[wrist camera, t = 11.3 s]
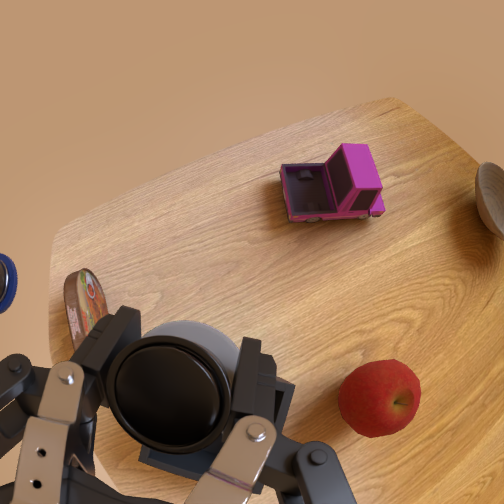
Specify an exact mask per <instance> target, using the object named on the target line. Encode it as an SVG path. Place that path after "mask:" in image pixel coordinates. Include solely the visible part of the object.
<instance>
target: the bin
mask: <svg viewBox="0 0 504 504" xmlns="http://www.w3.org/2000/svg"><path fill="white" fill-rule="evenodd" d="M275 387H276V389H275V407H274V423H275V426H276V428H277V429H278V431H279V432H280V433H282V429H283V426H284V423H285V420H286V416H287V413H288V410H289V406H290V403H291V400H292V396H293V393H294V389H295V385H294V384H292V383H290V382H288V381H286V380H284V379H282V378H280V377H276V386H275ZM222 436H223V433H221V435H220V436H219V437H218V438H217V439H216V440H215V441H214V442H213V443H212V444H211V445H209V446H208V447H206V448H205V449H203V450H200V451H198V452H195V453H192V454H187V455H170V454H164V453H160V452H157V451H154V450H152V449H150V448H147V447H145V446H144V445H142V447H141V451H140V455H139V460H138V461H140V462H142V463H145V464H147V465H150V466H153V467H155V468H158V469H161V470H164V471H167V472H170V473H173V474H176V475H179V476H183V477H186V478H189V479H193V480H196V481H199V480H200V478H201V476H202V475H203V474H204V472H205V471H206V470H207V469H209V467H210V466H211V464H212V463H213V461H214V460H215V458H216V456H217V455H218V453H219V451H220V450H221V448H222V446H223V445H224V443H225V442H221V441H222ZM263 486H264V484H262V483H259V482H257V481H256V483H255V485H254V488H253V492H252V493H253V494H259V495H260V494H261V491H262V489H263Z"/></svg>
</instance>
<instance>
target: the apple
mask: <svg viewBox="0 0 504 504" xmlns="http://www.w3.org/2000/svg"><path fill="white" fill-rule="evenodd" d="M420 397H421V388H420V381H419V379H418V378H417V376H416V375H415V374H414V372H413V371H412V370H411V369H410V368H409V367H408V366H407V365H405V364H403V363H401V362H399V361H397V360H395V359H391V360H381V361H375V362H369V363H367V364H365V365H363V366H360V367H358V368H357V369H355V370H354V371H353V372H352V373H351V374H350V375H349V376H347V377H346V379H345V380H344V382H343V384H342V385H341V387H340V389H339V396H338V403H339V408H340V411H341V415H342V418H343V419H344V420H345V421H346V422H347V423H348V424H349V425H350V426H351V427H352V428H353V429H354V430H355V431H356V432H357V433H358V434H361V435H363V436H366V437H369V438H374V437H380V436H385V435H391V434H394V433H396V432H398V431H400V430H401V429H403V428H405V427H406V426H407V425H408V424H409V423H410V422H411V421H412V419H413V418H414V416H415V414H416V412H417V409H418V407H419V403H420Z"/></svg>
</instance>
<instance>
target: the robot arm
mask: <svg viewBox="0 0 504 504" xmlns="http://www.w3.org/2000/svg"><path fill="white" fill-rule="evenodd" d="M8 288H9V271H8V268H7V266H6V264H5V263H4V262H3V261H2V260H0V304H1V303H2V301H3V300H4V298H5V296H6V294H7V292H8ZM139 339H141V314H140V310H137V309H134V308H130V307H127V306H124V305H123V306H121V307H120V308H119V310H118V311H117V312H116V314H115V315H111V314H107V315H105V316H104V317H102V318H101V319H99V320H98V321H97V323H96V324H95V325H94V327H93V329H92V330H91V331H90V332H89V333H88V336H86V337H85V339H84V340H83V342H82V343H81V344H80V346H79V347H78V349H77V350H76V351H75V353H74V354H73V356H72V357H71V358H70V360H69V361H63V362H59V363H57V364H55V365H54V366H53V367H52V368H43V367H36V366H32V365H31V362H30V360H29V359H28V358H27V357H26V356H24V355H22V354H12V355H9V356H7V357H6V358H5V359H3V360H2V361H1V362H0V410H1V409H2V408H3V407H4V406H6V405H7V404H8V403H9V402H11V401H12V400H13V399H14V398H15V400H14V401H12V402H11V403H10V404H9V405H7V406H6V407H5V408H4V409H2V410H1V411H0V459H1V458H2V457H3V456H4V455H5V454H6V453H7V452H8V451H10V450H11V449H12V448H13V447H14V446H15V445H16V444H17V443H19V442H20V441H21V440H22V439H23V441H22V445H21V450H20V455H19V461H18V466H17V472H16V477H15V481H14V482H11V483H8V484H5V485H3V486H0V504H173V503H169V502H166V501H162V500H159V499H152V498H141V497H133V496H125V495H122V494H120V493H119V492H117V491H116V490H114V489H113V488H111V487H109V486H108V485H107V484H105V483H104V482H102V481H101V480H99V479H98V478H96V477H95V466H94V461H93V450H94V440H95V431H96V423H97V413H96V412H97V410H98V408H99V406H100V405H101V406H104V407H106V408H109V403H108V400H107V394H106V379H107V374H108V371H109V368H110V366H111V364H112V362H113V360H114V359H115V357H116V356H117V355H118V354H119V353H120V352H121V351H122V350H123V349H124V348H125V347H126V346H128V345H129V344H131V343H133V342H135V341H137V340H139ZM260 351H261V340H258V339H253V338H248V337H243V340H242V344H241V348H240V352H239V355H238V359H237V363H236V368H235V372H234V378H233V383H232V388H231V411H230V415H229V419H228V422H227V424H226V426H225V428H224V430H223V436H222V441H221V442H225V443H224V445H223V446H222V448H221V450H220V451H219V453H218V455H217V456H216V458H215V460H214V461H213V463H212V464H211V466H210V467H209V469H207V470H206V471H205V472H204V474H203V475H202V476H201V478H200V480H199V481H198V483H197V484H196V486H195V487H194V489H193V490H192V492H191V493H190V495H189V496H188V498H187V499H186V501H185V502H184V504H247V502H248V500H249V498H250V496H251V494H252V492H253V488H254V485H255V483H256V481H257V482H259V483H262V484H264V485H266V486H269V487H271V488H274V489H275V491H276V495H277V498H278V501H279V504H357V502H356V500H355V498H354V495H353V493H352V490H351V488H350V486H349V483H348V481H347V479H346V476H345V474H344V472H343V469H342V467H341V464H340V462H339V460H338V457H337V455H336V453H335V451H334V450H333V449H332V448H331V447H330V446H329V445H328V444H326V443H323V442H319V441H311V442H307V443H305V444H301V443H298V442H296V441H293V440H291V439H289V438H287V437H285V436H284V435H282V434H281V433H280V432H279V431H278V429H277V428H276V426H275V423H274V407H275V389H276V387H275V386H276V369H277V366H276V363H275V361H274V359H273V357H272V355H267V354H262V353H260Z"/></svg>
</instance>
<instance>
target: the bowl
mask: <svg viewBox="0 0 504 504" xmlns="http://www.w3.org/2000/svg"><path fill="white" fill-rule="evenodd" d="M475 193H476V205H477V209H478V212H479V215H480V217H481V219H482V221H483V223H484V224H485V226H486V227H487V228H488V229H489V230H490V231H491V232H492V233H494V234H495V235H496V236H498V237H499V238H500V239H502V240H503V241H504V170H503V169H501V168H500V167H499V166H497V165H495V164H494V163H491V162H485V163H482V164H481V165H480V166H479V168H478V170H477V174H476V179H475Z"/></svg>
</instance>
